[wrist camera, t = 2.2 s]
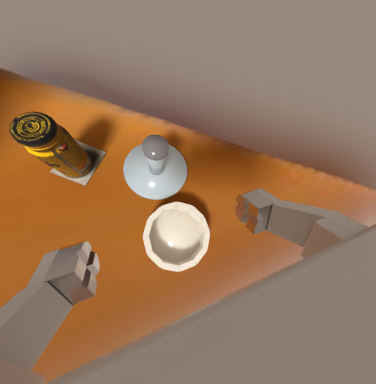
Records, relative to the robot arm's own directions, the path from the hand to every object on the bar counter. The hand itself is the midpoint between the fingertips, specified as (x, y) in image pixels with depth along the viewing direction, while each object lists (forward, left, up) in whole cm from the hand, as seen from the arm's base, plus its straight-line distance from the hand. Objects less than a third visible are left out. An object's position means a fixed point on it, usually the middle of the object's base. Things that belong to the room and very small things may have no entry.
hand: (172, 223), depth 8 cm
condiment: (-13, +19, -24) cm, 34 cm away
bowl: (+2, -1, -24) cm, 24 cm away
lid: (+2, +14, -24) cm, 28 cm away
